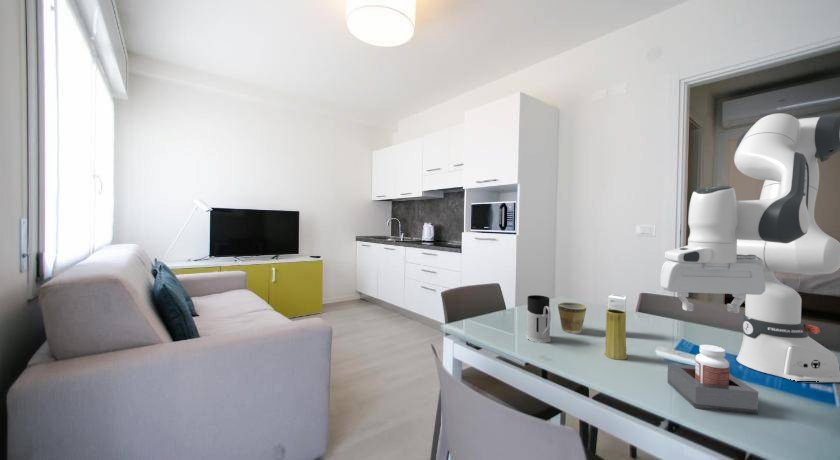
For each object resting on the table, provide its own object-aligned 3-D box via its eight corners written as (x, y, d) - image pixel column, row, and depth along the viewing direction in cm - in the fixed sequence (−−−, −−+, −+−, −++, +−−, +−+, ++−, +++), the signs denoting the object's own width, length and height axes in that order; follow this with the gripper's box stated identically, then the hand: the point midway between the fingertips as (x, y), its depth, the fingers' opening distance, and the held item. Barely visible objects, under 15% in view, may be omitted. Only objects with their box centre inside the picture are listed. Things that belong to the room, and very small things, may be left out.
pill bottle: (736, 398, 77) (737, 351, 77) (715, 401, 76) (716, 354, 76) (707, 385, 83) (708, 342, 83) (688, 388, 82) (689, 344, 82)
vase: (630, 360, 100) (630, 314, 100) (608, 359, 102) (608, 313, 101) (622, 352, 106) (622, 309, 106) (601, 351, 108) (602, 308, 107)
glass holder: (545, 334, 124) (545, 294, 124) (562, 348, 110) (562, 304, 110) (522, 334, 124) (522, 294, 124) (536, 349, 110) (536, 304, 109)
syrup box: (625, 333, 125) (626, 295, 124) (625, 337, 120) (626, 298, 119) (608, 330, 128) (608, 293, 127) (607, 334, 123) (608, 296, 123)
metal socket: (720, 387, 84) (720, 367, 84) (757, 414, 73) (758, 391, 73) (667, 382, 87) (667, 364, 87) (695, 408, 75) (695, 386, 75)
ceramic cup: (591, 335, 123) (591, 308, 122) (564, 335, 123) (564, 308, 122) (575, 324, 136) (575, 300, 135) (550, 324, 136) (551, 300, 135)
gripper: (752, 253, 80) (751, 309, 80) (657, 252, 84) (656, 305, 84) (774, 256, 74) (772, 317, 74) (670, 254, 78) (669, 312, 78)
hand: (710, 311), depth 79 cm, fingers open, 8 cm apart
